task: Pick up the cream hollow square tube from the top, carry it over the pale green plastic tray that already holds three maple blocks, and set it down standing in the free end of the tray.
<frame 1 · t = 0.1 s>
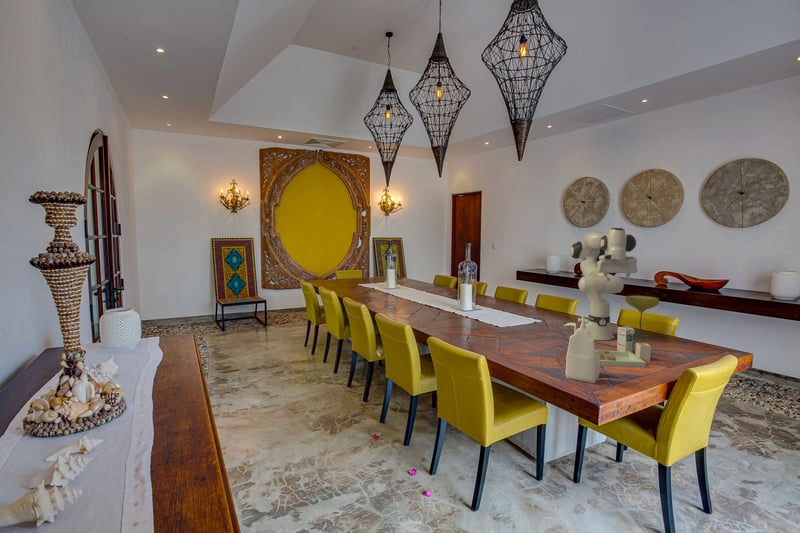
hand: (616, 281, 222), 39 cm above the table, tool pointing down, fingers open, 8 cm apart
maple block A: (602, 357, 208), point 1 cm above the table, touching tray
maple block C: (600, 360, 204), point 1 cm above the table, touching tray
cream tall nozzled container: (578, 376, 185), on the table
tray: (614, 362, 203), on the table
cocktail glass: (640, 335, 254), on the table
maple block B: (609, 363, 199), point 1 cm above the table, touching tray
syrup box: (624, 353, 218), on the table
cream hollow square tube: (642, 359, 209), on the table
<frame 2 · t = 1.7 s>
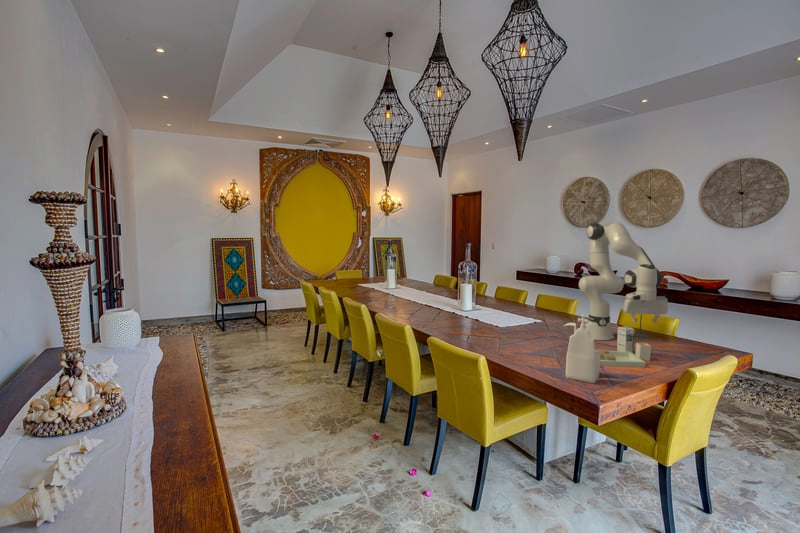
hand: (644, 322, 207), 20 cm above the table, tool pointing down, fingers open, 8 cm apart
nothing on the table moved.
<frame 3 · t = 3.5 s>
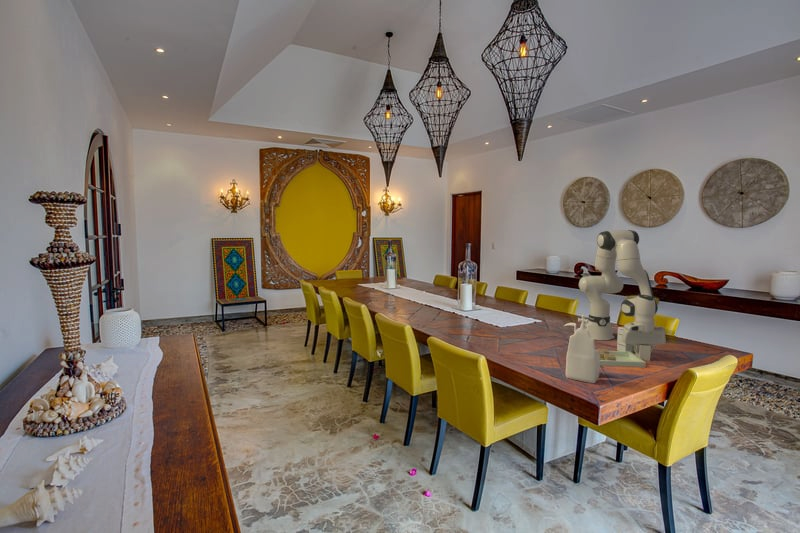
hand: (642, 352, 208), 4 cm above the table, tool pointing down, fingers closed on cream hollow square tube, 5 cm apart
cream hollow square tube: (642, 359, 209), on the table, touching gripper
everything else where it was.
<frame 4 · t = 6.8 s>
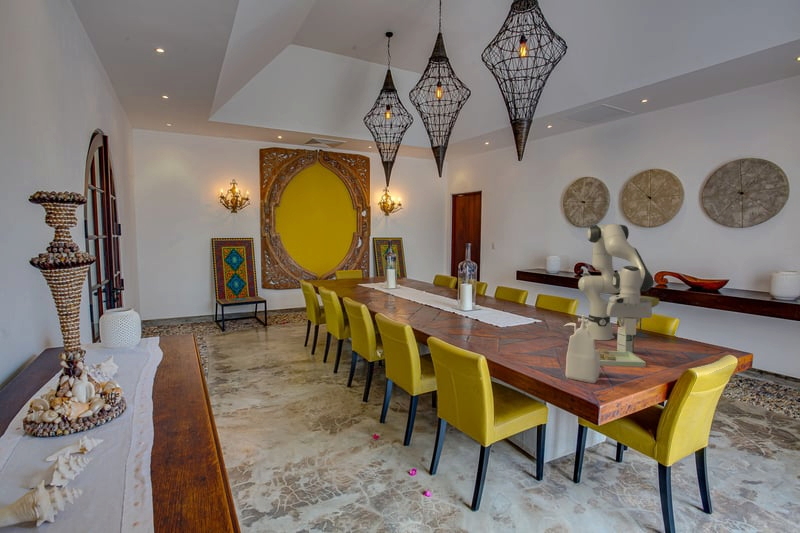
hand: (628, 326, 199), 20 cm above the table, tool pointing down, fingers closed on cream hollow square tube, 5 cm apart
cream hollow square tube: (628, 333, 200), point 16 cm above the table, touching gripper
everything else where it was.
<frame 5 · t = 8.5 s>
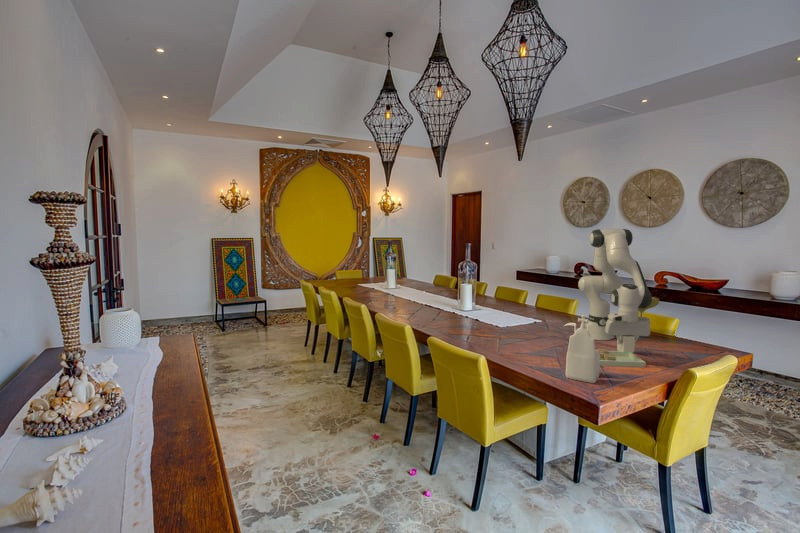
hand: (626, 343, 200), 11 cm above the table, tool pointing down, fingers closed on cream hollow square tube, 5 cm apart
cream hollow square tube: (626, 350, 200), point 7 cm above the table, touching gripper
everything else where it was.
when the fingers open (6 cm above the table, at t = 9.8 s): cream hollow square tube stays where it is, resting on tray.
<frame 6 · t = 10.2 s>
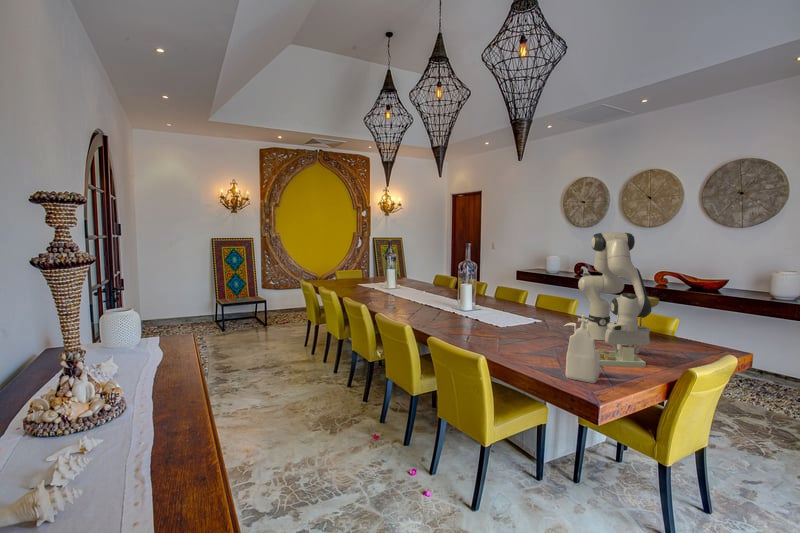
hand: (626, 352, 201), 6 cm above the table, tool pointing down, fingers open, 8 cm apart
cream hollow square tube: (625, 361, 201), point 1 cm above the table, touching tray
everything else where it was.
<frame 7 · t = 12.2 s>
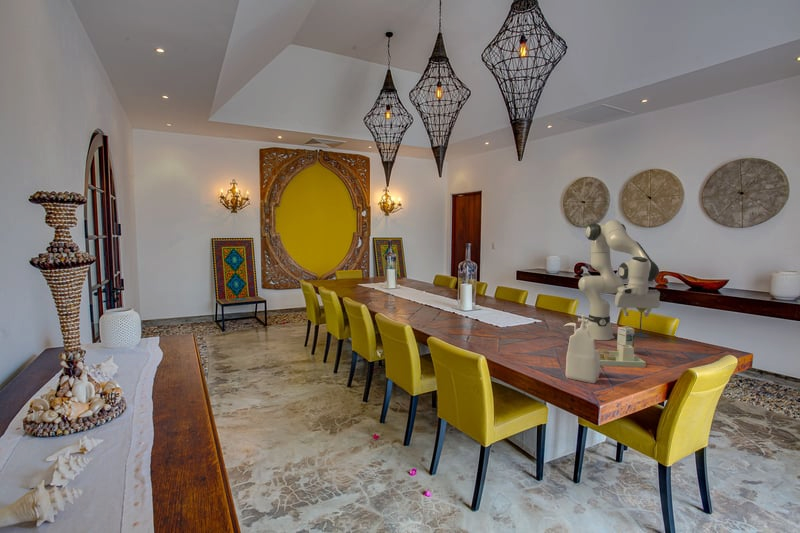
hand: (636, 316, 203), 24 cm above the table, tool pointing down, fingers open, 8 cm apart
nothing on the table moved.
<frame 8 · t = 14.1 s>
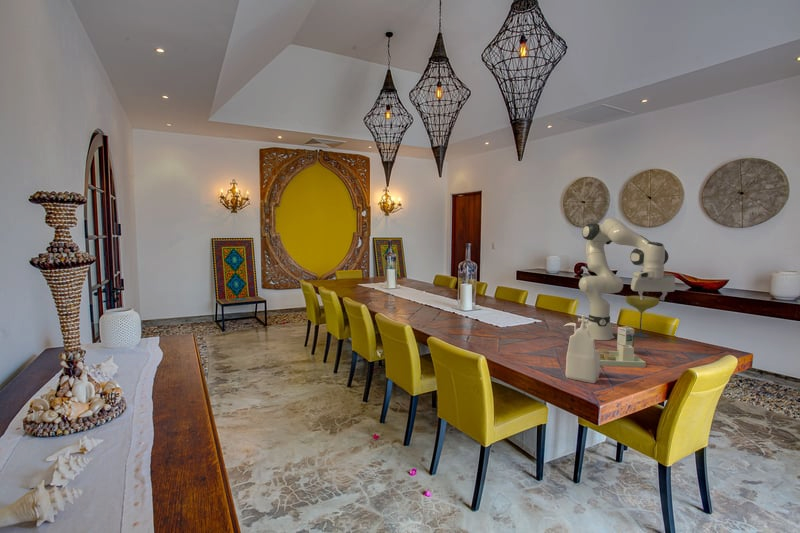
hand: (652, 299, 207), 31 cm above the table, tool pointing down, fingers open, 8 cm apart
nothing on the table moved.
at the end: cream hollow square tube inside the target area on the tray (4.9 cm from its centre), point 1.2 cm above the tray's base; cream hollow square tube tilted 0°; the gripper is holding nothing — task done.
